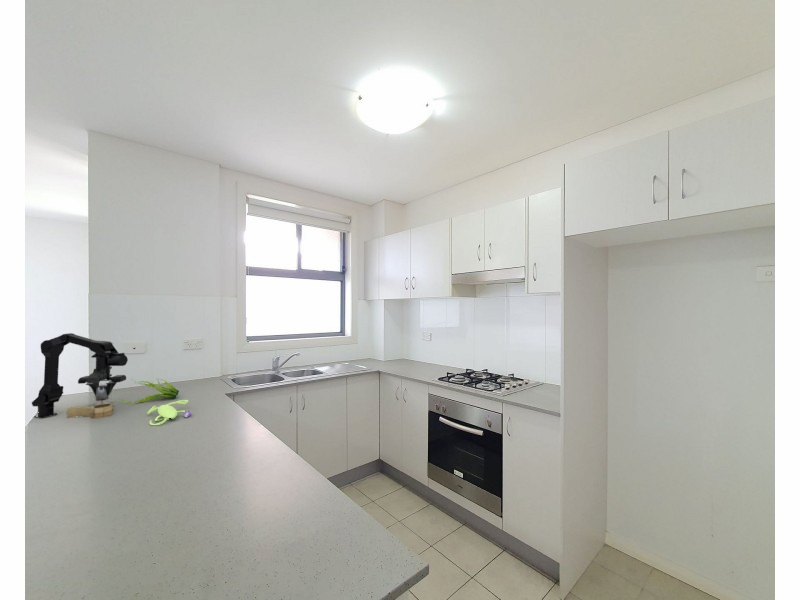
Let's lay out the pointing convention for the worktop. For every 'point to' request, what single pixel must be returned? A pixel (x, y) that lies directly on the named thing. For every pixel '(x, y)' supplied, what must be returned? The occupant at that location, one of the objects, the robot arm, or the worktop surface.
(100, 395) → the hinge pin
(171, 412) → the figurine
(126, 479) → the worktop surface
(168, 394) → the decorative plant
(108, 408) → the hinge
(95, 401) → the can
